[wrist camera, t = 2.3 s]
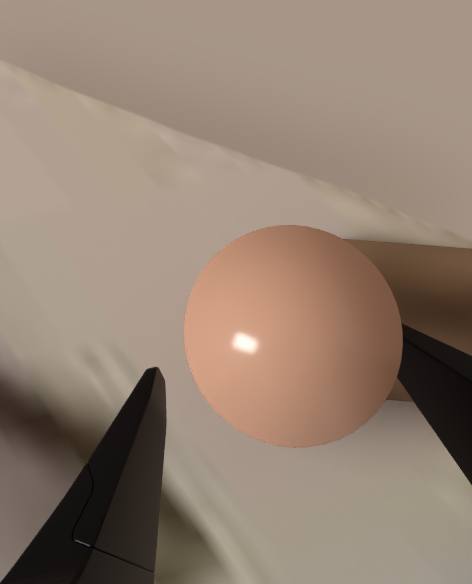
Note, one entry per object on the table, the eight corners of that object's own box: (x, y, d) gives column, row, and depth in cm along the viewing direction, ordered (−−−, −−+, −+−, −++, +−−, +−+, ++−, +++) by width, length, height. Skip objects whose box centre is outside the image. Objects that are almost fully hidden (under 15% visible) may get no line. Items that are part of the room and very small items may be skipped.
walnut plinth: (451, 395, 18) (494, 407, 15) (313, 385, 18) (329, 395, 15) (442, 262, 20) (479, 249, 17) (316, 252, 20) (331, 238, 17)
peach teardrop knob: (243, 382, 18) (272, 500, 5) (204, 325, 19) (141, 303, 6) (298, 340, 18) (448, 353, 6) (258, 287, 19) (310, 188, 6)
